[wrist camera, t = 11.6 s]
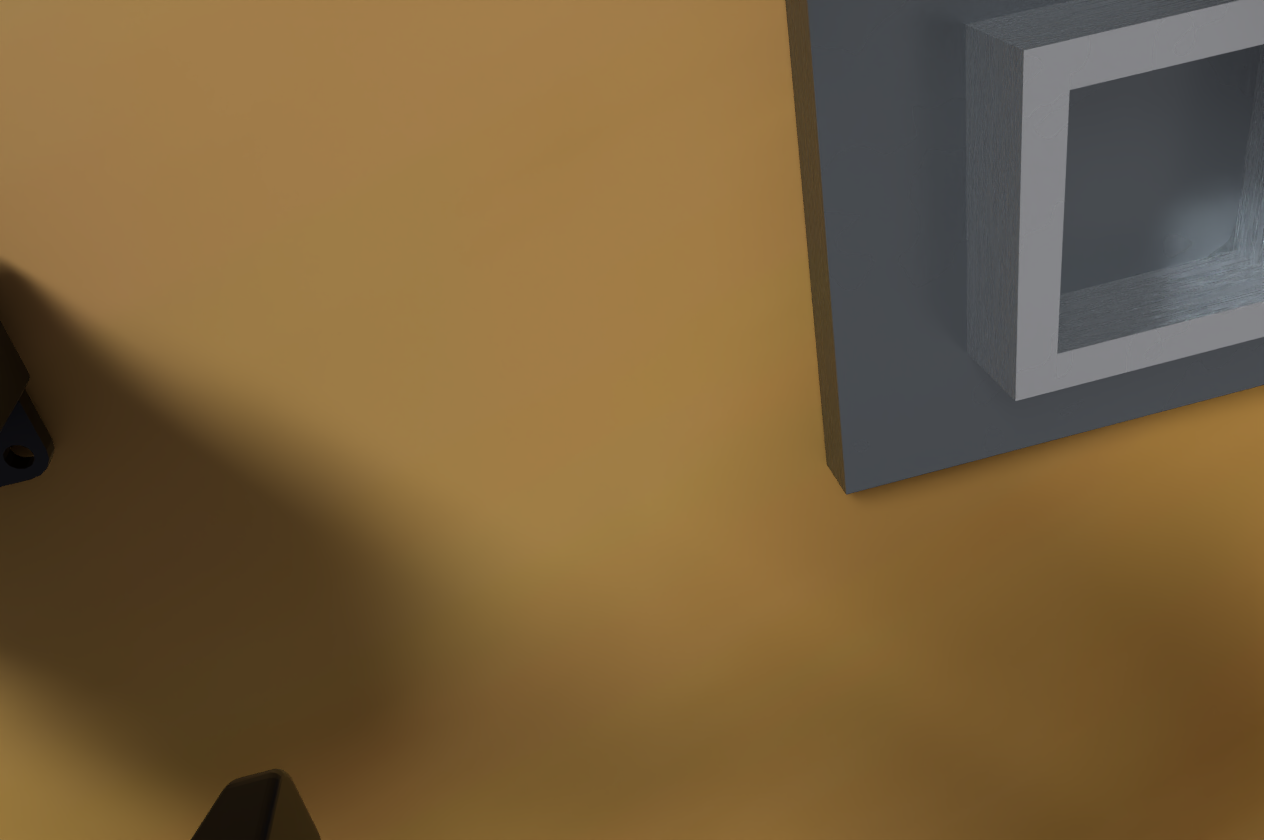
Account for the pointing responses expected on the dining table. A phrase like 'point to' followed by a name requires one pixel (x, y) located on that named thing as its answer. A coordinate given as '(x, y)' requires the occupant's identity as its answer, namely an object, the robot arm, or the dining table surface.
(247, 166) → the dining table surface
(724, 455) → the dining table surface
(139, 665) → the dining table surface
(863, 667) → the dining table surface
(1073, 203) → the fitting board
